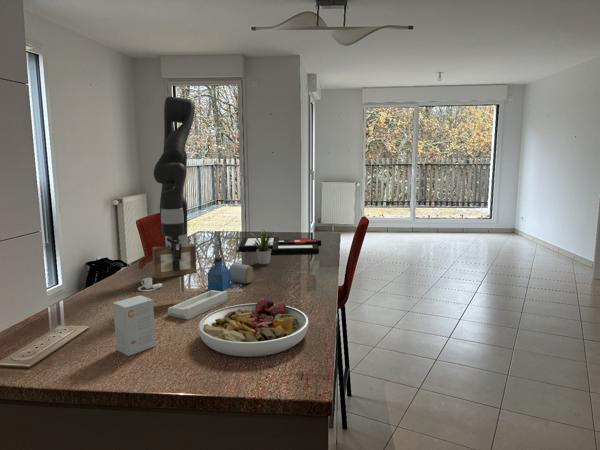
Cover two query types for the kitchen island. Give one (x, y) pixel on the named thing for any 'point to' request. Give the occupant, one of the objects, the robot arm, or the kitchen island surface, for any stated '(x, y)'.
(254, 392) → the kitchen island surface
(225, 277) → the perfume bottle
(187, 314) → the frame
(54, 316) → the kitchen island surface
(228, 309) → the bowl
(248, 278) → the ceramic mug
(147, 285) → the teacup and saucer
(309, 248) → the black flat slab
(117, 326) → the small box
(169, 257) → the oak frame
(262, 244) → the house plant
